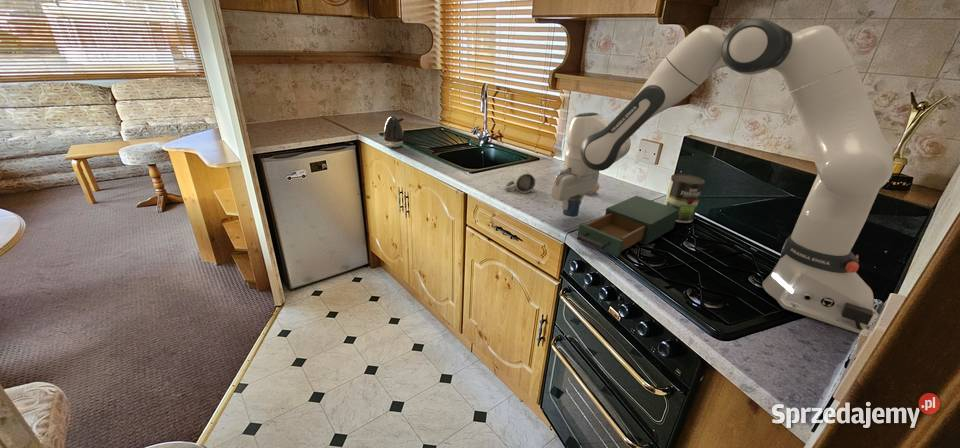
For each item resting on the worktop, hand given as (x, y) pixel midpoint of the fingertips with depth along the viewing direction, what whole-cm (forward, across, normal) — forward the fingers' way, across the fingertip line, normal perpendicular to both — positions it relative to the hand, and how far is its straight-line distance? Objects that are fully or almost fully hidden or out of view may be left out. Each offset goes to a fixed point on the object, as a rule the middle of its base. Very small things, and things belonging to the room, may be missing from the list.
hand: (571, 206), depth 131 cm
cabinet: (+5, +14, -17) cm, 23 cm away
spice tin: (+2, 0, 0) cm, 2 cm away
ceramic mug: (+5, +8, +30) cm, 31 cm away
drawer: (+4, -4, -17) cm, 18 cm away
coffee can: (+5, +34, -21) cm, 40 cm away
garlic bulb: (+5, +28, +11) cm, 31 cm away
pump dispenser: (+6, +2, +112) cm, 112 cm away
